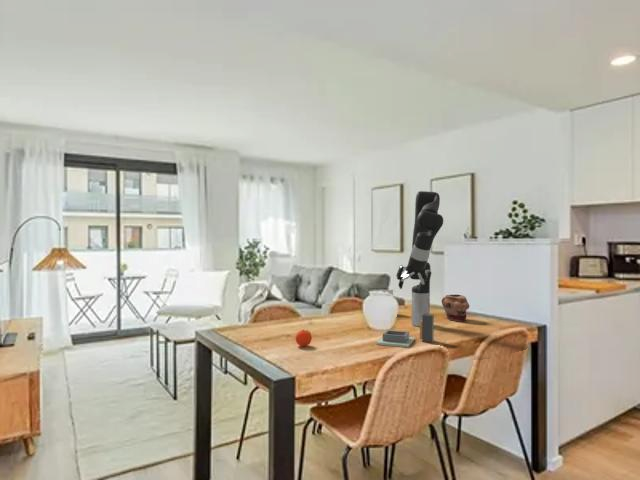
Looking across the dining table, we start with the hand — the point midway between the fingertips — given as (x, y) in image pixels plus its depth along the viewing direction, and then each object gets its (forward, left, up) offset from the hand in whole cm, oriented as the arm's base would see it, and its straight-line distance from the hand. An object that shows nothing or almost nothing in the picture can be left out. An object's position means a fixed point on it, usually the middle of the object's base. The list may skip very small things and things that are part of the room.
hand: (409, 289), depth 201 cm
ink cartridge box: (-68, -27, -24) cm, 77 cm away
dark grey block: (-8, +7, -24) cm, 26 cm away
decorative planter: (-66, +13, -24) cm, 71 cm away
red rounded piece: (+21, -41, -24) cm, 52 cm away
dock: (0, -6, -24) cm, 25 cm away
